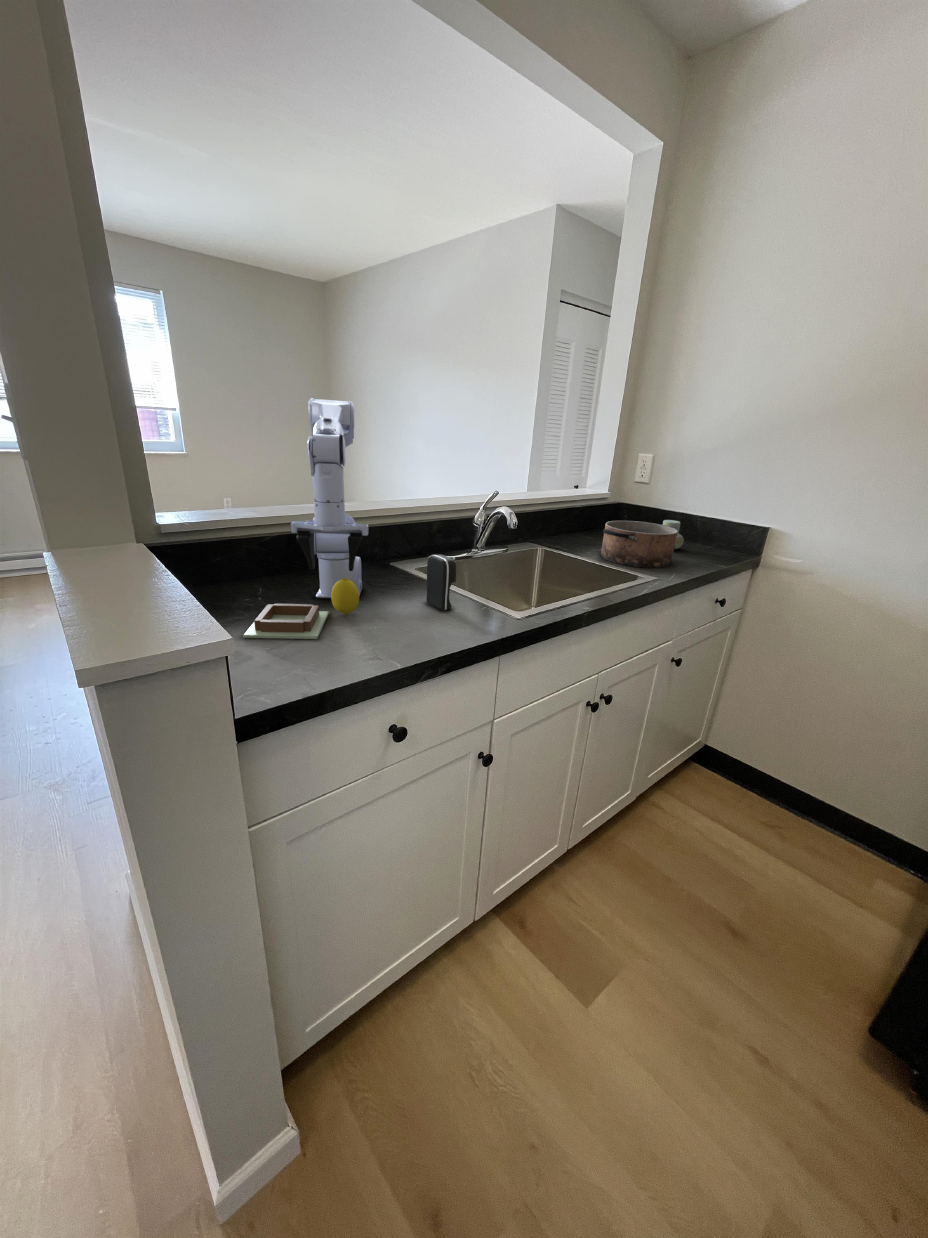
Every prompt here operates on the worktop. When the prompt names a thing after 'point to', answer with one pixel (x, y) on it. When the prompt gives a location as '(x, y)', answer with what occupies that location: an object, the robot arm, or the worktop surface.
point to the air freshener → (679, 538)
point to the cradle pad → (288, 622)
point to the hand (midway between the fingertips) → (332, 569)
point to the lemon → (345, 596)
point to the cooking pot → (638, 543)
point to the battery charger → (440, 580)
